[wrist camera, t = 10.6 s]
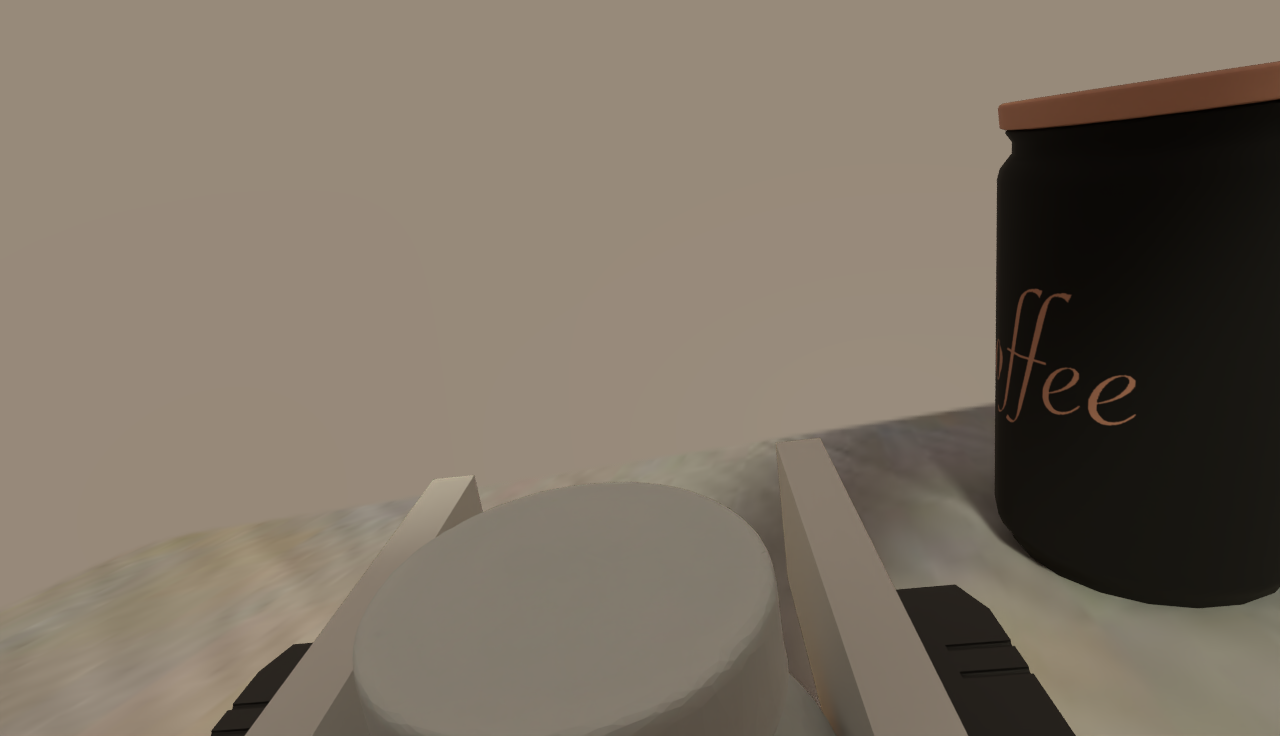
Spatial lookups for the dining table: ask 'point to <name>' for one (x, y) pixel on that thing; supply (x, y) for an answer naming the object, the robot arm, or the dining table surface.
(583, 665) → the supplement bottle
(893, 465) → the dining table surface
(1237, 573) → the coffee jar
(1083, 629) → the dining table surface
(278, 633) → the dining table surface
